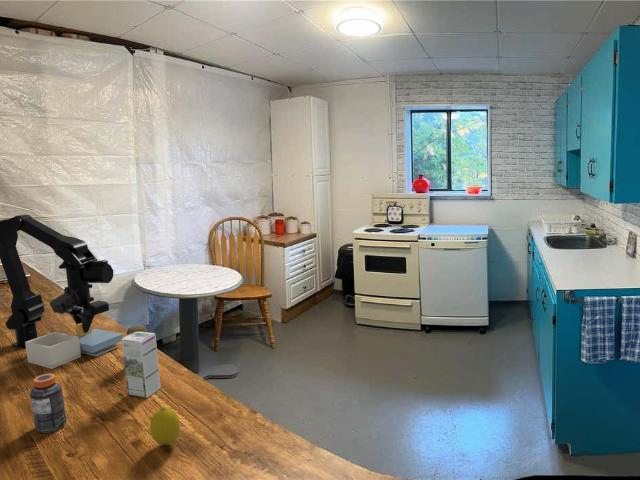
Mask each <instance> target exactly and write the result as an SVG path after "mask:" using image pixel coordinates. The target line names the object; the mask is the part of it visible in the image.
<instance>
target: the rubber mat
mask: <svg viewBox="0 0 640 480" xmlns="http://www.w3.org/2000/svg"><path fill="white" fill-rule="evenodd" d="M118 347H119V346H118V345H115V344H113V345H111V346H108V347H106V348H103V349H101V350H99V351H96V352H94V353H92V352H88V351H84V350H80V352H81V354H85V355H88V356H92V357H99V356H101V355H104V354H105V353H108V352H110V351H112V350H115V349H118Z"/></svg>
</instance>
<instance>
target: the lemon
mask: <svg viewBox="0 0 640 480" xmlns="http://www.w3.org/2000/svg"><path fill="white" fill-rule="evenodd" d="M150 419H151V420H150V425H149V426H150V428H149V429H150V434H151V436H152V439H153V440H154V442H156V443H157V444H160V445H164V446H169V445H170V444H171V443H172V442H175V440H176V438H178V436H179V434H180V431H181V423H180V422H181V421H180V418H179V415H178V413H177V412H176V410H174V409H173V408H171V407H166V406H161V408H159V409H157V410H156V411H155V412H154V413H153V415H152V416H151V418H150Z"/></svg>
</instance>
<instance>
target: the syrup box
mask: <svg viewBox="0 0 640 480" xmlns="http://www.w3.org/2000/svg"><path fill="white" fill-rule="evenodd" d="M121 347H122V356H123V358H122V359H123V364H124V365H123V366H124V374H125V382H126V390H127V396H132V397H136V398H137V397H138V398H145V399H147V398H149V397H151V396H152V395H153V394H155V393H156V392H157V391H159V390H161V388H162V387H161V379H160V377H161V376H160V368H159V367H160V366H159V358H158V348H157V347H158V346H157V337H156V333H155V332H148V331H147V332H137V331H136V332H133V333H131V334H129V335H127V334H126V335H125V337H124V336H123V339H122V341H121Z"/></svg>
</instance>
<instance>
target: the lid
mask: <svg viewBox="0 0 640 480" xmlns="http://www.w3.org/2000/svg"><path fill="white" fill-rule="evenodd" d="M74 326H75V327H74V328H75V333H76V335H75V336H76V337H79V344H80V350H84V351H88V352H92V353H94V352H96V351H99V350H101V349H103V348H106V347H108V346H111V345H115V344H118V343H120V342H122V339H123V338H124V336H123V333H119V332H115V331H110V330H105V329H101V328H93V329H92V325H91V326H90V328H89V331H88V332H87V333H84V331H83V327H82V323H79V324H77V325H76V324H75V325H74Z"/></svg>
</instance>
